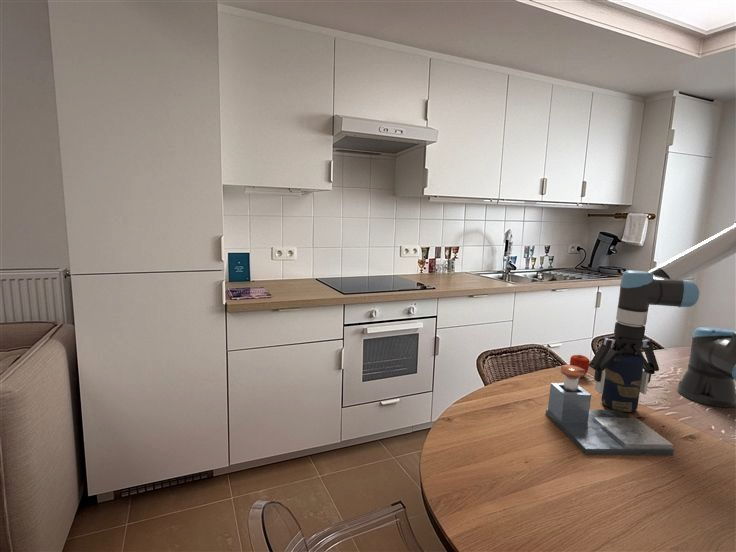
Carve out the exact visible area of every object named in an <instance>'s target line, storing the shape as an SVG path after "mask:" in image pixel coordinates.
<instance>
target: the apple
mask: <svg viewBox="0 0 736 552" xmlns="http://www.w3.org/2000/svg"><path fill="white" fill-rule="evenodd" d="M589 364H590V359H589V358H588V357H587V356H585V355H582V354H574V355H573V354H572V355H571V356H570V359H569V365H572V366H577V367H580V368H582V369H584V370H585V376H586V375H587V373H588V371H589V367H590V366H589Z"/></svg>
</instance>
